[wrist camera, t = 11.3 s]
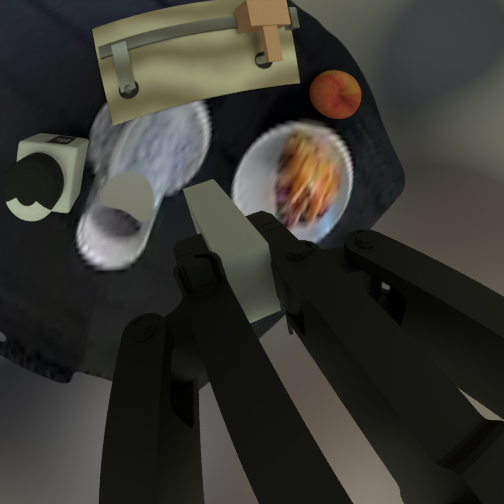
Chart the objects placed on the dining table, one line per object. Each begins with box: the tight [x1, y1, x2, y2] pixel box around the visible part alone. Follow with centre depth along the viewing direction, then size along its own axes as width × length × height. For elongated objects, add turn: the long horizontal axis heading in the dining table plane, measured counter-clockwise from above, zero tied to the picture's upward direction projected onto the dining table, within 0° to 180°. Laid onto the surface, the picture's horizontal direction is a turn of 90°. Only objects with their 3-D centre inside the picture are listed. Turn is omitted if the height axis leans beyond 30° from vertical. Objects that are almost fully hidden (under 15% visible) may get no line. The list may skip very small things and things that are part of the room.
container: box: [3, 133, 89, 221], centre depth 26 cm, size 8×8×13 cm
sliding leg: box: [235, 0, 291, 64], centre depth 29 cm, size 8×5×6 cm, turn 10°
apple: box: [309, 70, 361, 119], centre depth 36 cm, size 7×7×8 cm
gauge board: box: [92, 0, 300, 125], centre depth 30 cm, size 14×26×4 cm, turn 100°
